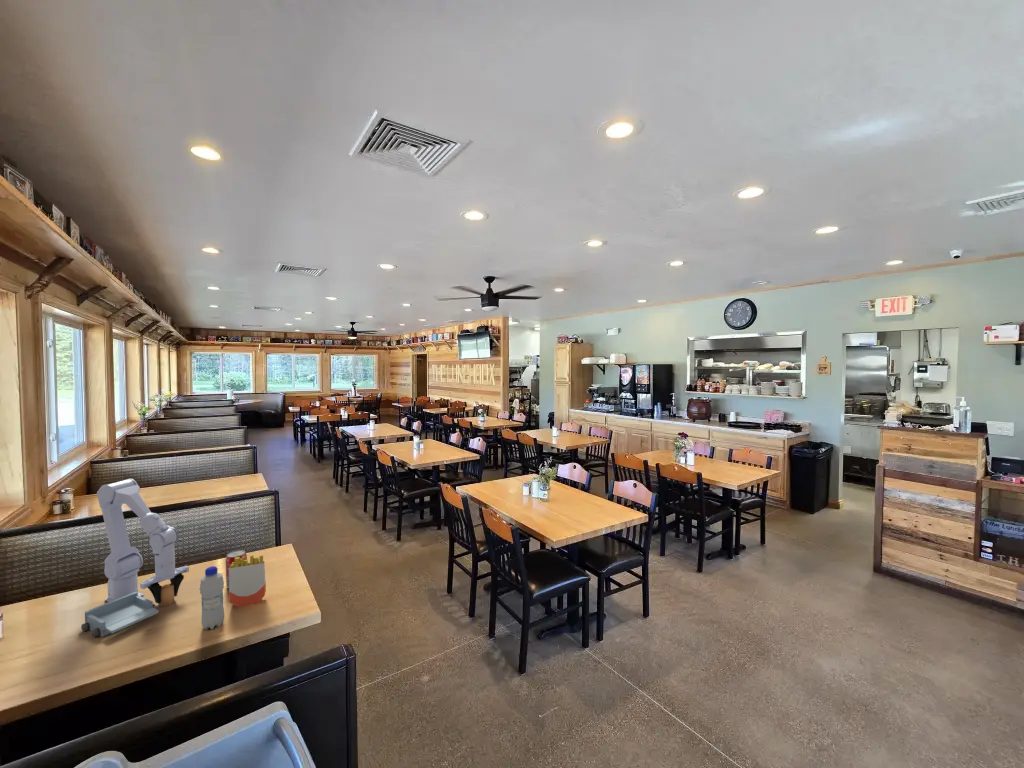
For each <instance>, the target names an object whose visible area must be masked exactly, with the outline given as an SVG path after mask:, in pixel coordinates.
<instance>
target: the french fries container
mask: <svg viewBox="0 0 1024 768" xmlns="http://www.w3.org/2000/svg"><path fill="white" fill-rule="evenodd" d="M266 586H267V584H266V565H265V561H264V554H260V555H259V557H257V556H256V557H255V556H254V555H250V556H249V561H248V559H247V560H244V557H242V559H240V557H236V558H235V564H234V562H232V564H231V565H230V567H229V588H228V590H229V591H228V593H229V603H230V604H231V605H234V606H236V607H237V608H242V607H243V608H244V607H248V606H249V607H250V606H254V605H257V604H258V603H259V602H260V601H261V600H262V599H263V598H264V597H265V595H266V592H267V591H266V590H267V587H266Z"/></svg>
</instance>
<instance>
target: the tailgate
mask: <svg viewBox="0 0 1024 768" xmlns="http://www.w3.org/2000/svg"><path fill="white" fill-rule="evenodd" d="M159 612H160V610H159V609H158V608H156V609H155V608H150V609H148V610H146V611H143V612H141V613H139V614H136V615H134V616H132V617H129V618H127V619H125V620H122V621H120V622H118V623H115V624H113V625H111V626H108V627H106V631H108V632H110V633H109V634H115V633H116V632H118V631H122V630H124V629H125V628H127V627H129V626H133V625H134V624H136V623H139V622H141V621H144V620H146V619H147V618H150V617H152V616H154V615H157V614H159Z"/></svg>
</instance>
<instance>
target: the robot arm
mask: <svg viewBox="0 0 1024 768" xmlns="http://www.w3.org/2000/svg"><path fill="white" fill-rule="evenodd" d="M140 489H141V488H140V485H139V484H138V483H137V481H136V480H135V479H133V478H127V479H124V480H120V481H116V482H112V483H108V484H103V485H101V486H100V488H99V489H98V490H97V492H96V495H97V501H98V504H99V508H101V509H100V510H101V513H102V517H103V521H104V526H105V530H106V534H107V539H108V543H109V548H110V553H109V555H108V556H107V557H106V558H105V559H104V561H103V562H104V570H103V572H104V575H105V577H106V578H107V579H108V581H107V597H106V598H105V599H104V601H107V603H108V602H111V601H113V600H116V599H118V598H121V597H123V596H126V595H128V594H131V593H134V592H138V595H139V596H141V597H143V596H144V593H141V592H140V591H139V588H140V589H141V590H145V589H148V590H149V591H150V592H151V595H152V597H153V598H154V601H155V604H159V603H161V588H162V585H160V583H162V582H164V581H166V580H169V581H170V584H174V597H177V596H178V592H179V589H180V586H181V583H182V582H183V580H184V579H185V574H184V573H188V572H189V573H190V569H189V568H190V567H189V566H187V565H184V566H180V567H176V557H175V556H176V554H175V542H177V541H178V539H179V533H178V531H177V529H176V528H175V527H174V526H173V527H172V526H170V525H168V524H166V522H164V520H163V519H162V518H161V516H160V515H159V514H158V513H157V512H152V511H151V510H150V508H149V507H148V505H147V503H146V502H145V500H144V499H143V498H142V495H141V494H140ZM124 504H125V505H126V506H128V508H129V509H130V510H131V511H132V512H133V513H134V514H135V515H136V516H137V517H138V518H139V519H140V520H139V525H140V527H141V528H142V529H143V530H144V532H145V534H147V536H148V537H149V538H150V540H148V542H149V546H150V547H151V549H152V550H151V551H152V553H153V554H154V573H155V574H154V576H152V577H150V578H148V579H146V580H143V581H142V582H140V584H139V582H138V572H140V568H142V566H143V564H144V559H143V556H142V555H141V554H140V551H139V548H136V547H134V546H133V547H132V546H131V543H130V538H129V534H128V530H127V526H126V522H125V521H126V520H125V517H124V512H123V508H122V506H123V505H124ZM139 585H140V587H139Z"/></svg>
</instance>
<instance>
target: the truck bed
mask: <svg viewBox="0 0 1024 768" xmlns="http://www.w3.org/2000/svg"><path fill="white" fill-rule="evenodd" d="M138 592H139V591H138ZM138 592H134V593H131V594H128V595H126V596H123V597H121V598H118V599H116V600H113V601H111V602H108V601H107V602H106V603H103V604H100V605H98V606H95V607H93V608H90V609H88V610H85V611H84V623H82V624H81V627H80V629H81V631H82V632H83V633H84V632H86V631H90V632H91V636H92V637H93V638H97V637H99V636H100V637H104V636H107V635H110V634H111V633H110V632H108V631H106V627H108V626H111V625H113V624H115V623H118V622H120V621H122V620H125V619H127V618H129V617H132V616H134V615H136V614H139V613H141V612H143V611H146V610H148V609H150V608H155V609H158V605H156V603H155V604H154V602H153V600H150V599H148V598H146V597H143V596H139V595H138Z"/></svg>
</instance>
